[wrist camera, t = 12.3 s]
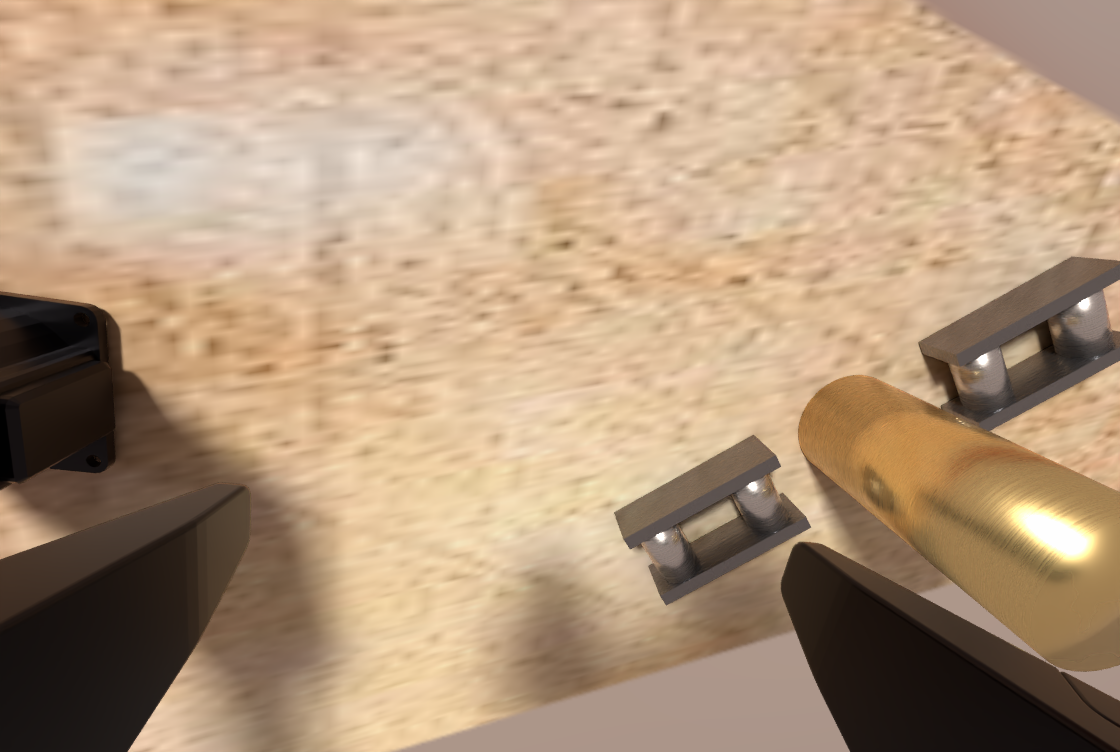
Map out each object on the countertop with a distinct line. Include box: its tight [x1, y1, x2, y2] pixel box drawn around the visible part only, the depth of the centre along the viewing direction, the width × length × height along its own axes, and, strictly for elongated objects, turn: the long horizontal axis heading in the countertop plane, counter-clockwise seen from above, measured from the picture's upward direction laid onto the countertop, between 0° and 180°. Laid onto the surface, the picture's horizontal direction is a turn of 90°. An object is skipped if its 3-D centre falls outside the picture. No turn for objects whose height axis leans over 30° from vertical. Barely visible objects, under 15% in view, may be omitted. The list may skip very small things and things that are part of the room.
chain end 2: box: [919, 257, 1120, 431], centre depth 22 cm, size 7×4×2 cm, turn 120°
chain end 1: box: [614, 435, 811, 605], centre depth 23 cm, size 7×4×2 cm, turn 120°
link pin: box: [798, 375, 1120, 672], centre depth 18 cm, size 5×5×11 cm
